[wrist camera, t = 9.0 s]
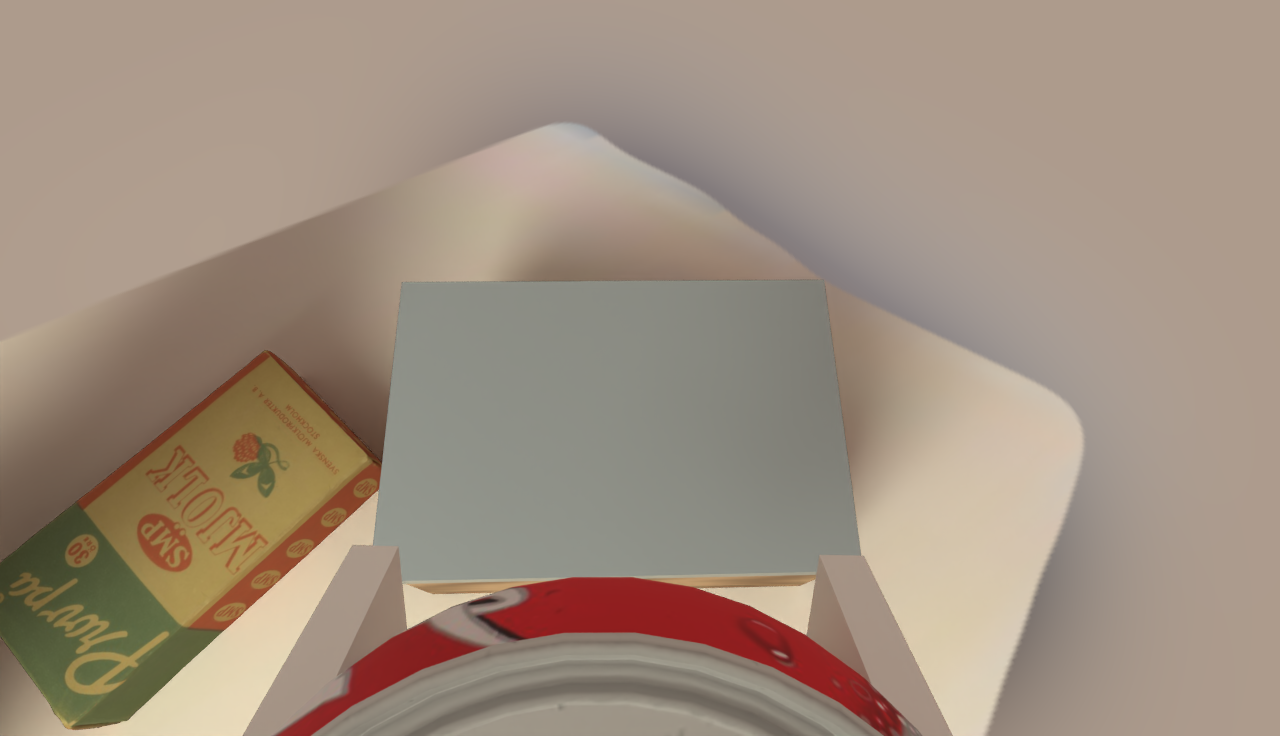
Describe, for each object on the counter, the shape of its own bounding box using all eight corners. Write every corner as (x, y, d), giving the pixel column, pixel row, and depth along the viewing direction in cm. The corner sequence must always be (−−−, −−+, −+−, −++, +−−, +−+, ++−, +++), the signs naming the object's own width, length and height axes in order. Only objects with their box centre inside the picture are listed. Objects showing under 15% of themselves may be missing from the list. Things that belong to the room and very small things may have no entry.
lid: (377, 584, 28) (369, 582, 27) (407, 292, 33) (401, 281, 32) (855, 574, 29) (863, 571, 28) (818, 290, 33) (824, 279, 33)
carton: (398, 478, 38) (373, 458, 34) (124, 729, 33) (58, 739, 29) (299, 374, 40) (264, 343, 36) (26, 598, 35) (-49, 591, 31)
